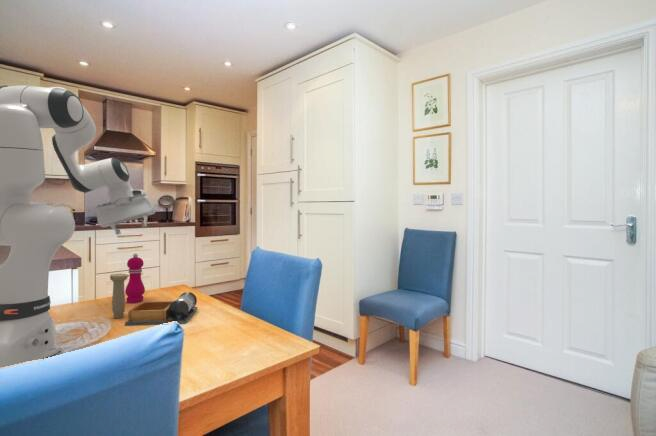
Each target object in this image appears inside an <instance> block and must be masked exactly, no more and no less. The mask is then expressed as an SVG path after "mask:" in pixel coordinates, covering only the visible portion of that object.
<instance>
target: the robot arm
mask: <svg viewBox="0 0 656 436" xmlns="http://www.w3.org/2000/svg"><path fill="white" fill-rule="evenodd" d="M41 129H53V131H54V132H55V134H54V135H53V136H52V137H51V143H52V146H53V150H54V152H55V154H56V156H57V158H58V159H59V162H60V163H61V164H60V165H62V167H63V169H64V172H65V173H66V174H67V177H68V180H69V183H70V185H71V186H72V187H73V189H74V190H75V191H77V192H80V193H86V194H87V193H89V192H91V191H94V190H97V189H101V188H105V187H106V188H107V195H108V199H109V202H105V203H99V204H97V205H96V206H95V207H94V213H95V215H96V219H97V224H98V225H99V226H100V227H101V228H107V227H110V228H111V229H112V230H114V233H115V235H116V236H117V235H121V234H122V232H121V229H120V228H116V227H117V226H116V225H118V224H121V223H126V222H129V221H132V220H133V221H134V220H136V219H140V218H143V221H141V223H140V225H141V227H142V228H145V227H146V228H147V226H148V225H147V222H148V216H152V215H155V213H156V208H155V206H154V204H153V202H152V201H151V198H150V197H149V196H148V193H147V192H146V191H145V190H143V189H133V187H132V185H131V179H130V174H129V171H128V167H127V166H126V164H125V163H124V162H123V161H121V160H120V159H117V158H116V157H110V158H105V159H102V160H97V161H94V162H90V163H85V164H84V163H83V164H78V162H77V160H76V157H75V156H74V154H75V153H76V152H78V151H79V150H81V149H82V148H84V147H87V146H89V144H91V142H92V141H94V139H95V137H96V134H97V125H96V123H95V122H94V119H93V117H92V116H91V115H90V112H88V110H87V108H86V107H85V105H83V103H82V102H81V100H80V98H79V97H78V96H77V95H76V94H75V93H74V92H72V91H70V90H68V89H67V88H64V87H61V86H50V87H44V86H35V85H5V84H4V85H0V246H1V247H4V246H5V247H6V246H7V247H10V251H9V254H8V257H7V258H6V259H5V261H4V262H3V263H1V264H0V367H5V366H10V365H14V364H19V363H23V362H26V361H32V360H38V359H43V358H45V359H47V358H46V357H48V358H49V357H52V356H53V355H56V354H58V353H59V351H60V352H62V346H60V345H58V344H57V336H56V333H57V332H56V326H55V325H56V324H55V319H54V318H52V315H51V314H50V312H49V311H50V310H51V297H50V295H49V277H50V276H49V275H50V267H51V264H52V261H53V258H54V257H55V254H56V253H57V252H58V250H59V249H60V248H61V247H62V246H63V245H64V244H65V243H67V242H68V241H70V239H71V238H72V236H73V234H74V232H75V229H76V222H75V218H74V216H73V214H72V213H71V212H70V211H69V210H68V209H67V208H64V207H59V206H56V205H51V204H46V203H44V204H43V203H42V204H41V203H40V204H38V203H30V198H31V195H32V193H33V192H34V190H35V189H37V188H38V187H40V186H41V185H43V183H44V182H45V180H46V169H45V156H44V155H45V154H44V144H43V143H44V142H43V137H42V131H41ZM43 360H44V359H43Z"/></svg>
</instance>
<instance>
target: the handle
mask: <svg viewBox="0 0 656 436" xmlns="http://www.w3.org/2000/svg"><path fill="white" fill-rule="evenodd" d="M128 278H129V277H128V273H127V274H126V273H113V274H110V275H109V280H110V281H112V282H113V285H112V301H111V307H112V310H111V311H112V317H113V319H120V318H121V319H122V318H123V317H124V314H125V307H126V297H125V296H126V294H125V281H126V280H127V279H128Z"/></svg>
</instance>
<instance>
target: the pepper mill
mask: <svg viewBox="0 0 656 436" xmlns="http://www.w3.org/2000/svg"><path fill="white" fill-rule="evenodd" d="M138 256H139V254H137V253H133V255H132V257H131V258H129V259H128V260H127V263H126V266H127V268H128V273H127V274H129V279H128V283H127V284H126V287H125V288H124V291H125V296H126V297H125V303H127V304H137V303H136V302H139V303H141V302H140V301H142V302H144V299H145V298H144V294H145V292H146V288H145V285H144V283H143V280H142V273H143V266H144V260H143V259H142V258H141V257H138Z"/></svg>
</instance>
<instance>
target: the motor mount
mask: <svg viewBox="0 0 656 436" xmlns="http://www.w3.org/2000/svg"><path fill="white" fill-rule="evenodd" d="M197 302H198V299H197V296H196V295H195V294H194V293H193V292H190V291H186V292H183V293H181V294H180V295H179V297H178V298H177V299H176V300H166V301H165V300H164V301H163V300H162V301H142V302H139V304H137V305H135V306H134V307H132V308H130V309H129V310H128V311H127V320H126V321H125V322H124V326H126V327H127V326H152V325H153V326H157V325H158V326H159V324H162V325H164V324H163V323H168V322H172V321H177V322H178V323H180V324H179V325H184V324H187V323H188V321H189V320H190V319H191V318H192V316H193V315H194V314H195V313H196V311H197V310H198V306H196V305H197Z"/></svg>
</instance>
